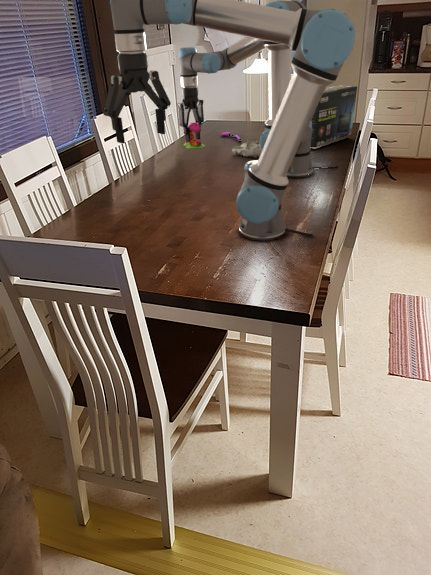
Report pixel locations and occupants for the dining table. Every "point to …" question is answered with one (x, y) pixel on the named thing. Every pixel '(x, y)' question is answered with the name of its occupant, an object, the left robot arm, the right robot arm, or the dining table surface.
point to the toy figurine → (193, 143)
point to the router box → (333, 114)
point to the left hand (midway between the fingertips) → (141, 138)
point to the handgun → (232, 136)
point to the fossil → (248, 148)
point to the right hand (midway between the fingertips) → (192, 140)
